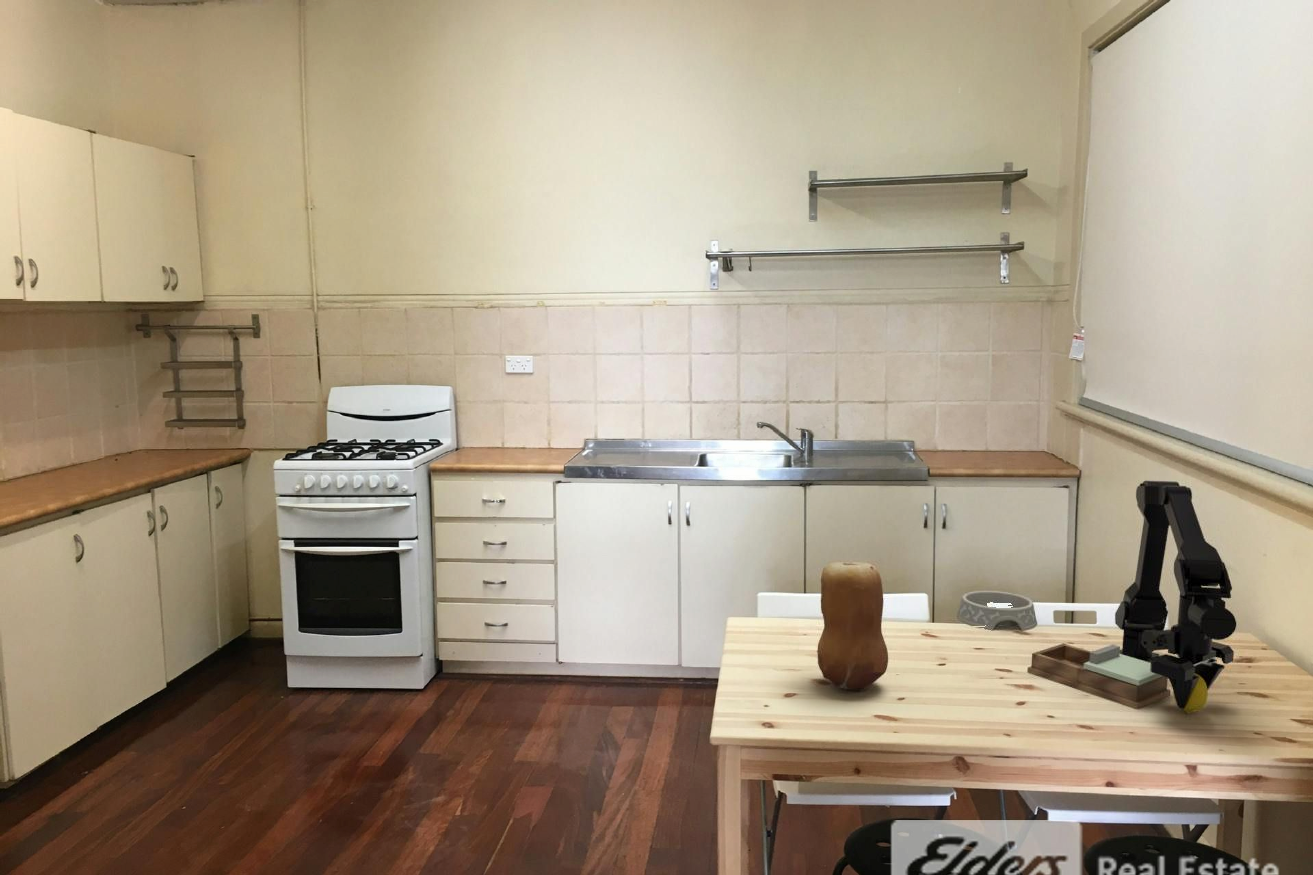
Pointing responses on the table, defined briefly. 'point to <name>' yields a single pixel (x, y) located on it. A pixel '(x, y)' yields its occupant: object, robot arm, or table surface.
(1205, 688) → the lemon
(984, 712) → the table surface
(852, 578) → the butternut squash
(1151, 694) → the wooden box
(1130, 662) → the slide cover
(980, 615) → the dog bowl
